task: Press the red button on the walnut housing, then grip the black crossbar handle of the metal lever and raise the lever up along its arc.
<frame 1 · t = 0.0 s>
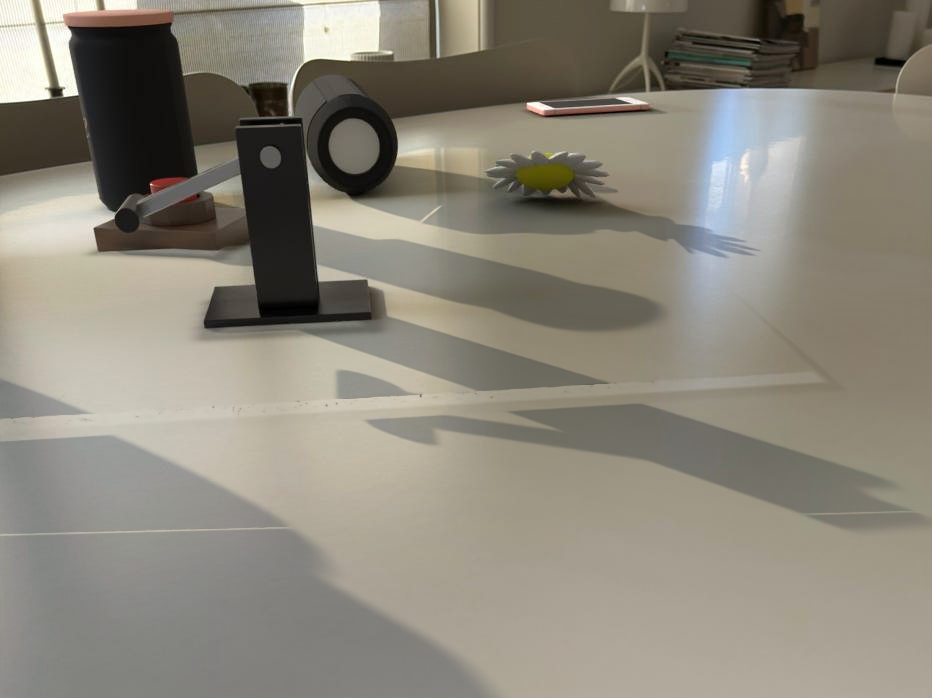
bracket: (291, 314, 81), on the table
button: (173, 191, 98), point 4 cm above the table, slide at 0.1 cm
cell phone: (587, 110, 171), on the table
button box: (182, 242, 100), on the table
portable speaker: (347, 179, 126), on the table
lever: (205, 180, 75), point 10 cm above the table, hinge at -20.0°
coffee jar: (152, 206, 115), on the table
decorative flower: (538, 192, 118), on the table
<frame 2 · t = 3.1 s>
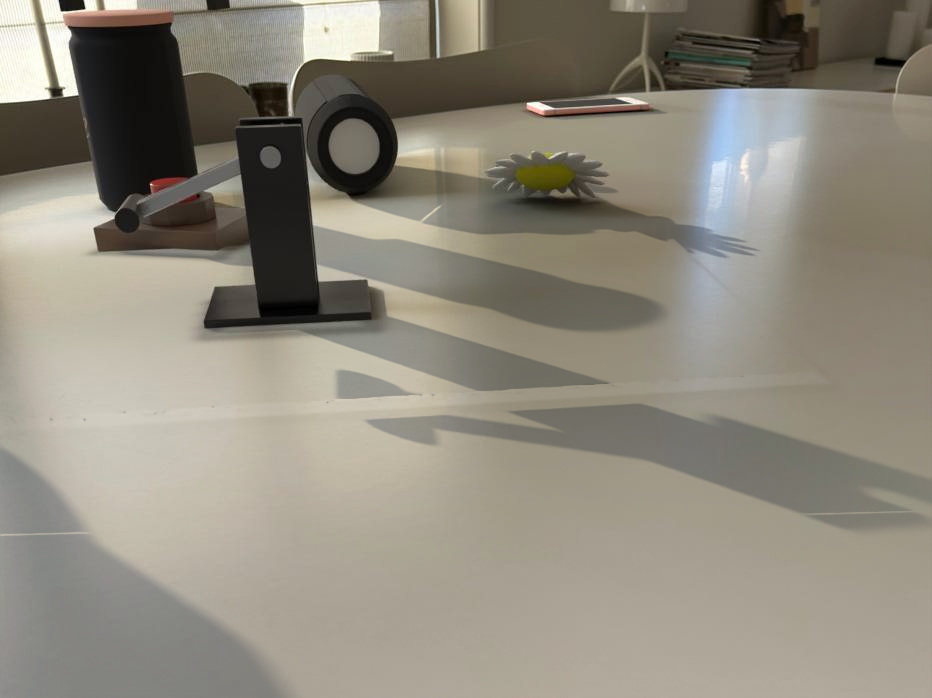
hand: (145, 10, 89), 19 cm above the table, tool pointing down, fingers open, 13 cm apart
nothing on the table moved.
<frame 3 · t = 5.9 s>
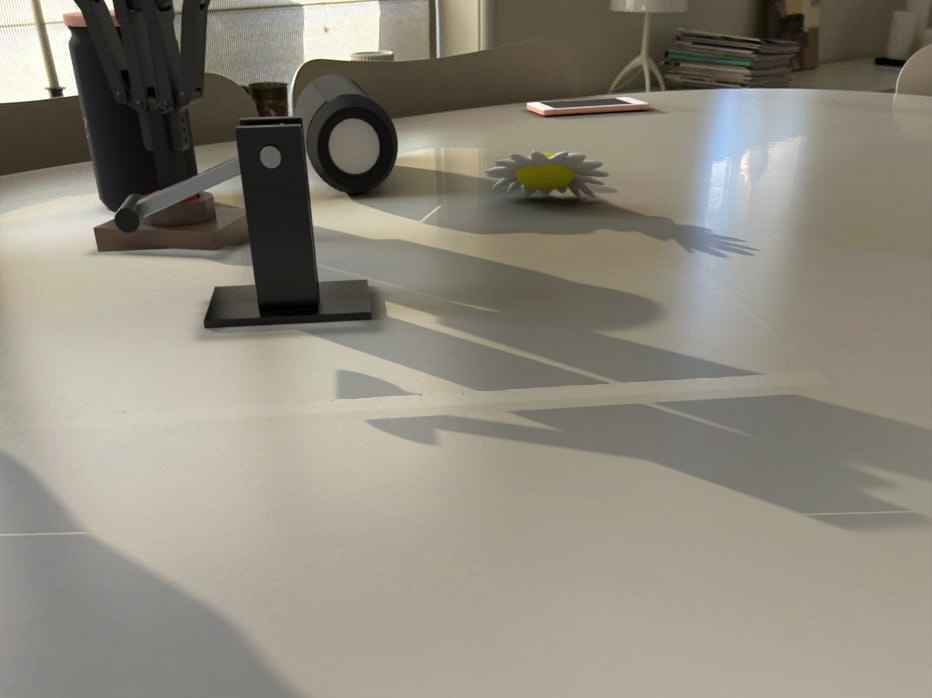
hand: (174, 189, 98), 5 cm above the table, tool pointing down, fingers closed
button: (175, 202, 98), point 4 cm above the table, slide at -0.8 cm, touching gripper
everything else where it was.
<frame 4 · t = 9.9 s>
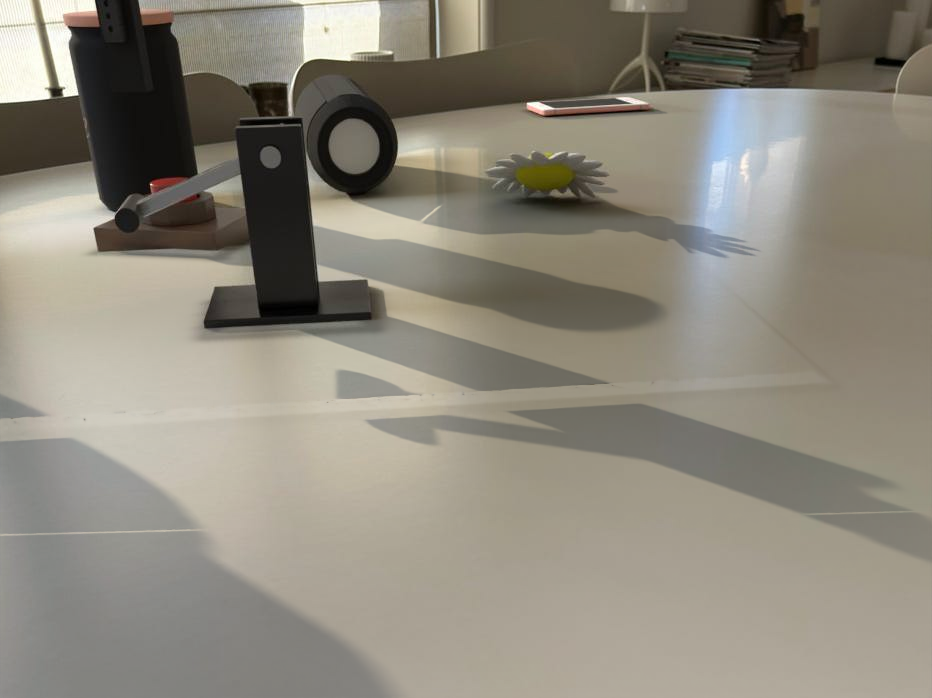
hand: (132, 90, 80), 14 cm above the table, tool pointing down, fingers closed
button: (173, 191, 98), point 4 cm above the table, slide at 0.1 cm
everything else where it was.
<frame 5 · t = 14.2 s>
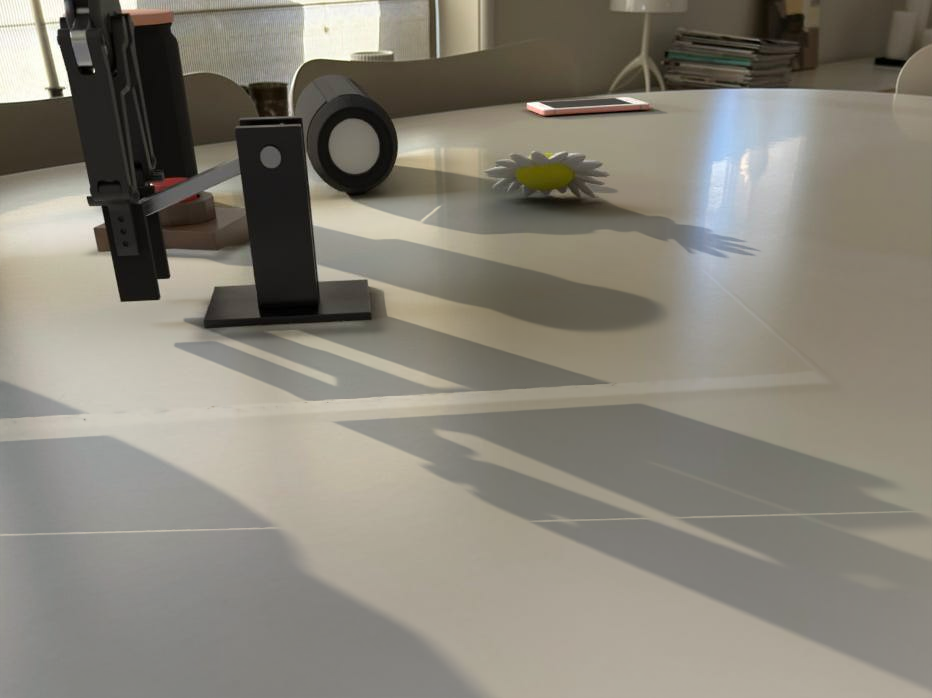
hand: (146, 287, 78), 2 cm above the table, tool pointing down, fingers closed on lever, 5 cm apart
lever: (205, 180, 75), point 10 cm above the table, hinge at -20.0°, touching gripper
everything else where it was.
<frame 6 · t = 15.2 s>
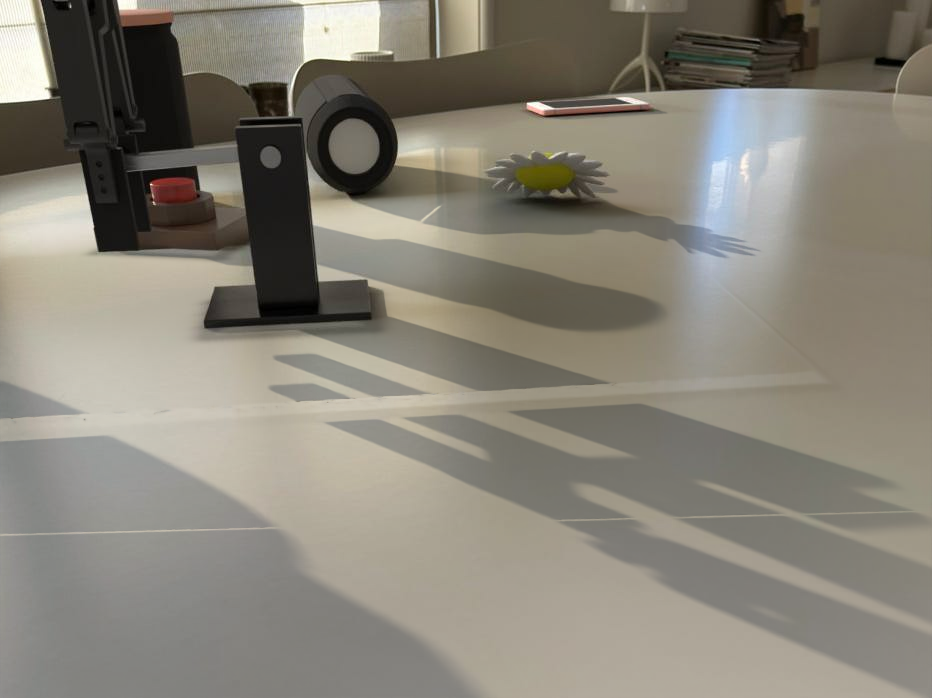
hand: (126, 239, 76), 6 cm above the table, tool pointing down, fingers closed on lever, 5 cm apart
lever: (197, 156, 74), point 11 cm above the table, hinge at -2.6°, touching gripper
everything else where it was.
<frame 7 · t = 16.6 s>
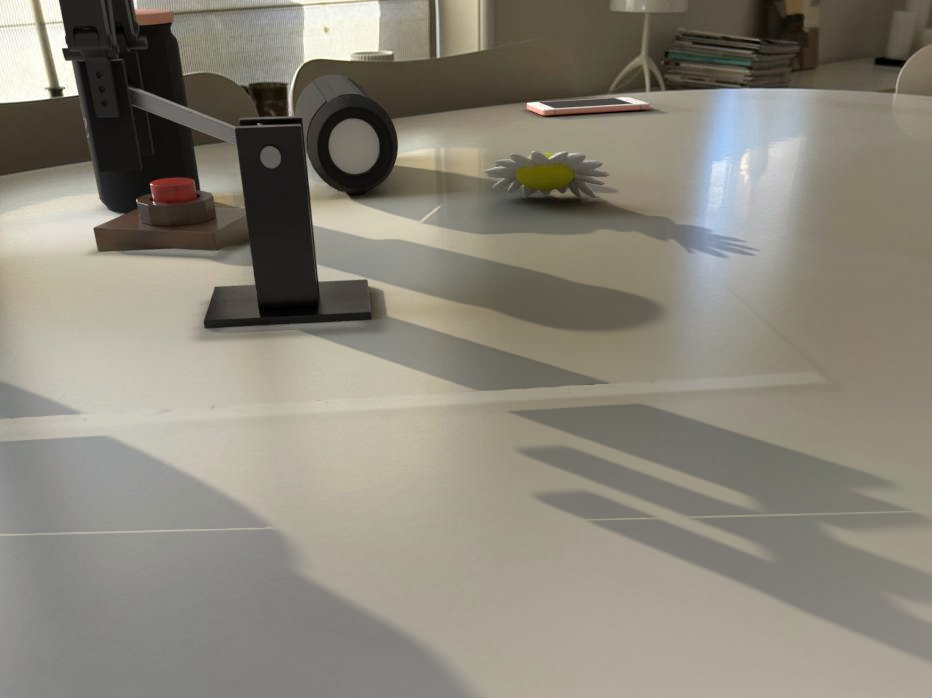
hand: (127, 161, 73), 11 cm above the table, tool pointing down, fingers open, 5 cm apart
lever: (197, 121, 73), point 13 cm above the table, hinge at 22.3°
everything else where it was.
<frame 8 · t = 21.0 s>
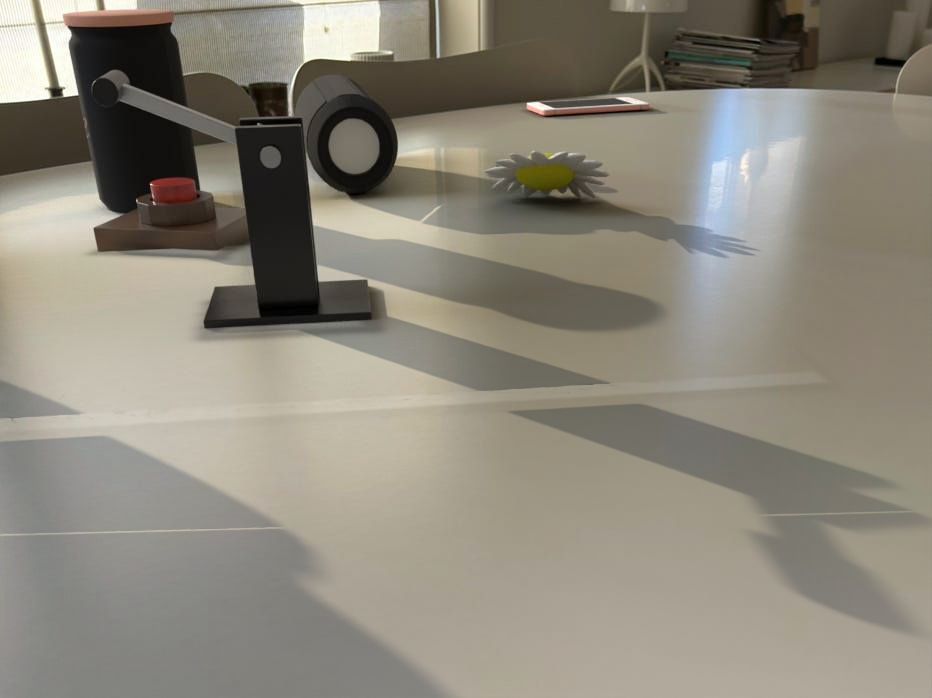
nothing on the table moved.
at the end: button pushed in 1.0 cm at the most during the clip, back to where it started at the end; button slide at 0.1 cm; lever at +22° (first picture: -20°) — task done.
